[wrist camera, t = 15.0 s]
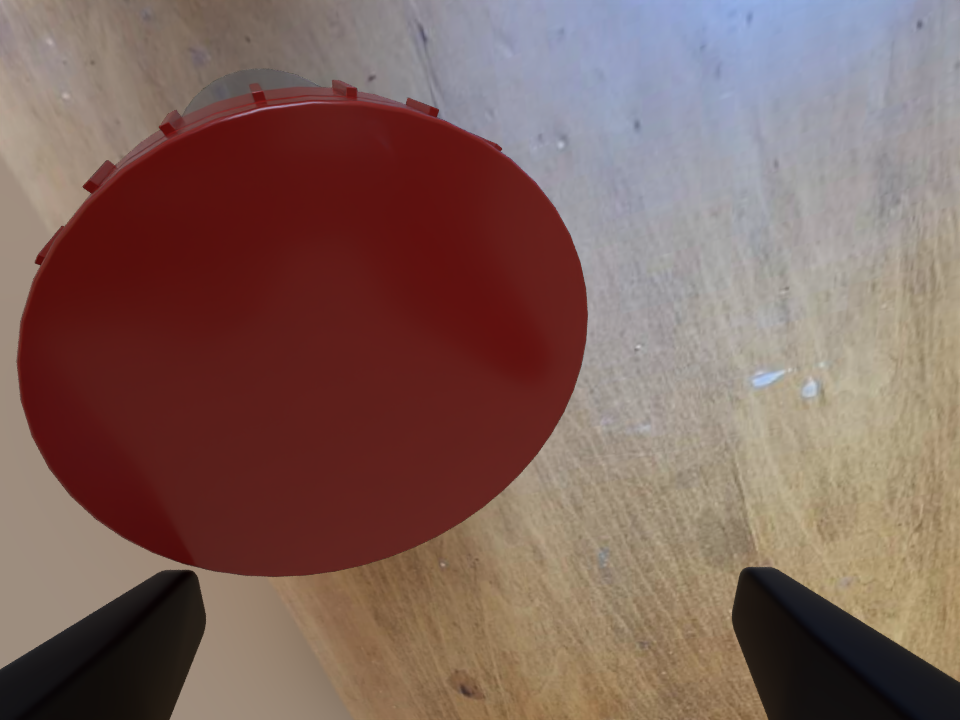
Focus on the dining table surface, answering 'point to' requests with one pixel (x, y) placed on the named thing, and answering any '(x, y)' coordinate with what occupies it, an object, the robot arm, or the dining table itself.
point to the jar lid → (300, 332)
